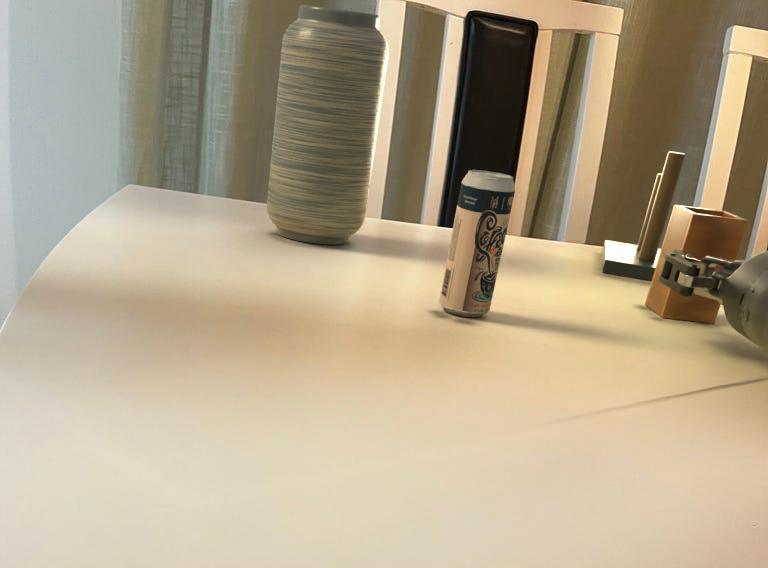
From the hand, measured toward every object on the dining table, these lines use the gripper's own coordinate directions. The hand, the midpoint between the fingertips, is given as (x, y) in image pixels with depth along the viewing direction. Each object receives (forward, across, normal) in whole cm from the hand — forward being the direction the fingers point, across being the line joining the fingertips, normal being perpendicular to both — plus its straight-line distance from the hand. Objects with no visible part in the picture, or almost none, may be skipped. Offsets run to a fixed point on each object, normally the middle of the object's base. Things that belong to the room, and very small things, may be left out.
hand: (715, 265), depth 98 cm
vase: (+24, +38, +6) cm, 46 cm away
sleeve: (+5, 0, +6) cm, 8 cm away
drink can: (-6, +25, +6) cm, 26 cm away
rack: (+30, -4, +6) cm, 31 cm away
